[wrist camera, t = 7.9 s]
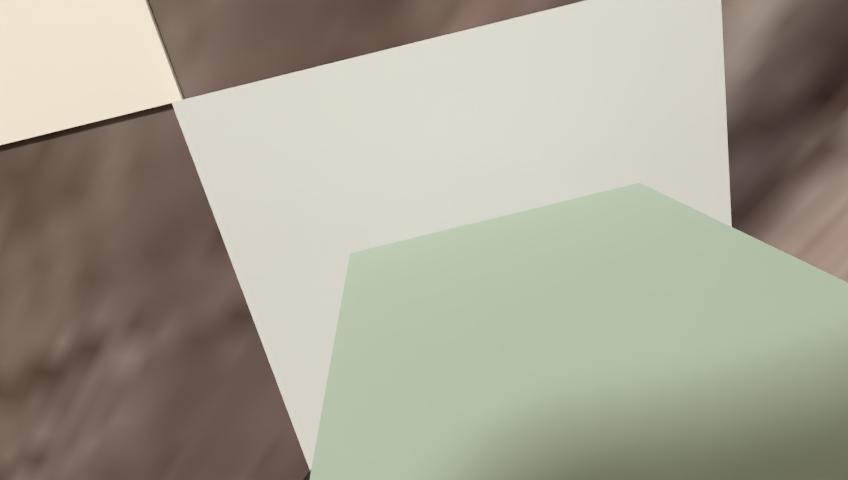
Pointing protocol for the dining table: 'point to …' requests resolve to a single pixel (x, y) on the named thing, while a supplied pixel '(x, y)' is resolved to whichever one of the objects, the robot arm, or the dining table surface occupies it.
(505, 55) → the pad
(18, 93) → the tile
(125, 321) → the dining table surface
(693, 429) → the sage block
